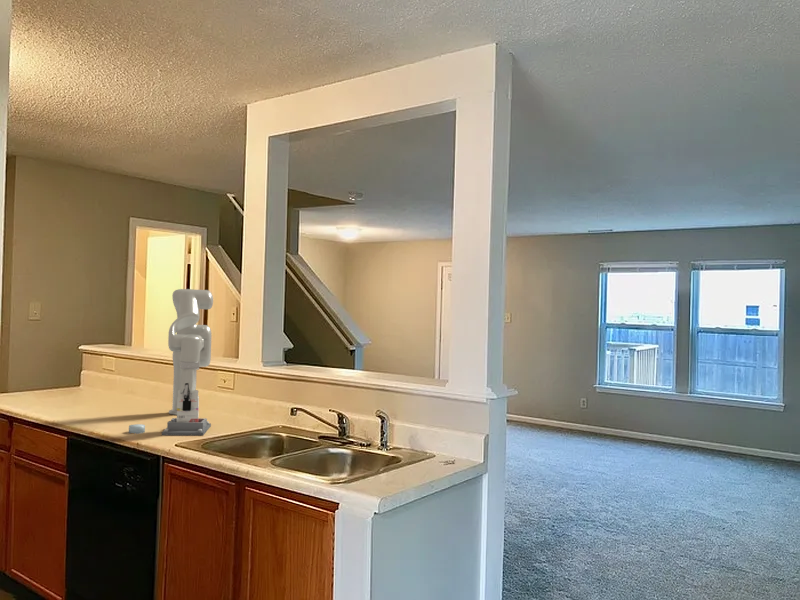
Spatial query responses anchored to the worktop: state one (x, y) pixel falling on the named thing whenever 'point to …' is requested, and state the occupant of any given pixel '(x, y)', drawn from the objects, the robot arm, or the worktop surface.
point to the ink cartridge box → (193, 413)
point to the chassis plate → (187, 427)
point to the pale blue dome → (137, 428)
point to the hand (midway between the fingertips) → (188, 408)
